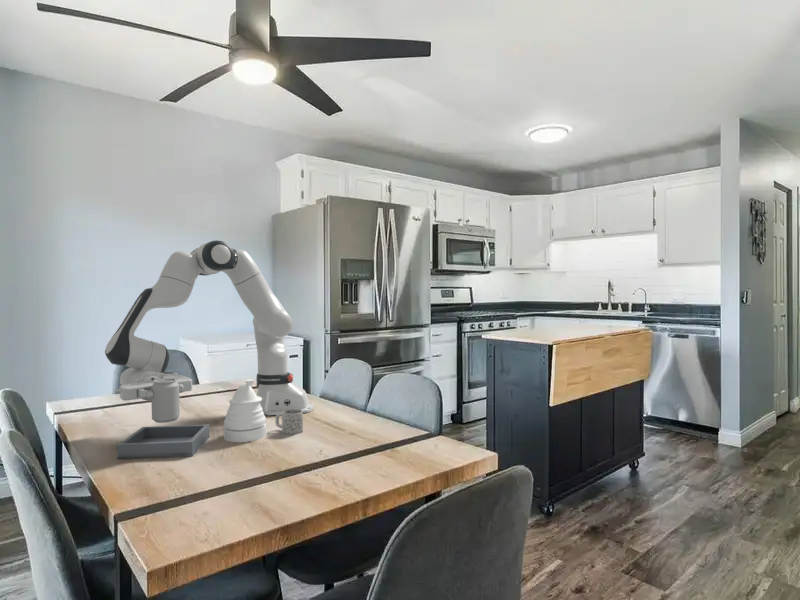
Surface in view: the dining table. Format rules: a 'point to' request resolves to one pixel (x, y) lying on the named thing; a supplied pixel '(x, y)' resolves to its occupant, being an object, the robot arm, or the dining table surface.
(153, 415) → the can
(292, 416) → the mug
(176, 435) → the tray
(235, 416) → the honey pot
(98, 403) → the dining table surface
